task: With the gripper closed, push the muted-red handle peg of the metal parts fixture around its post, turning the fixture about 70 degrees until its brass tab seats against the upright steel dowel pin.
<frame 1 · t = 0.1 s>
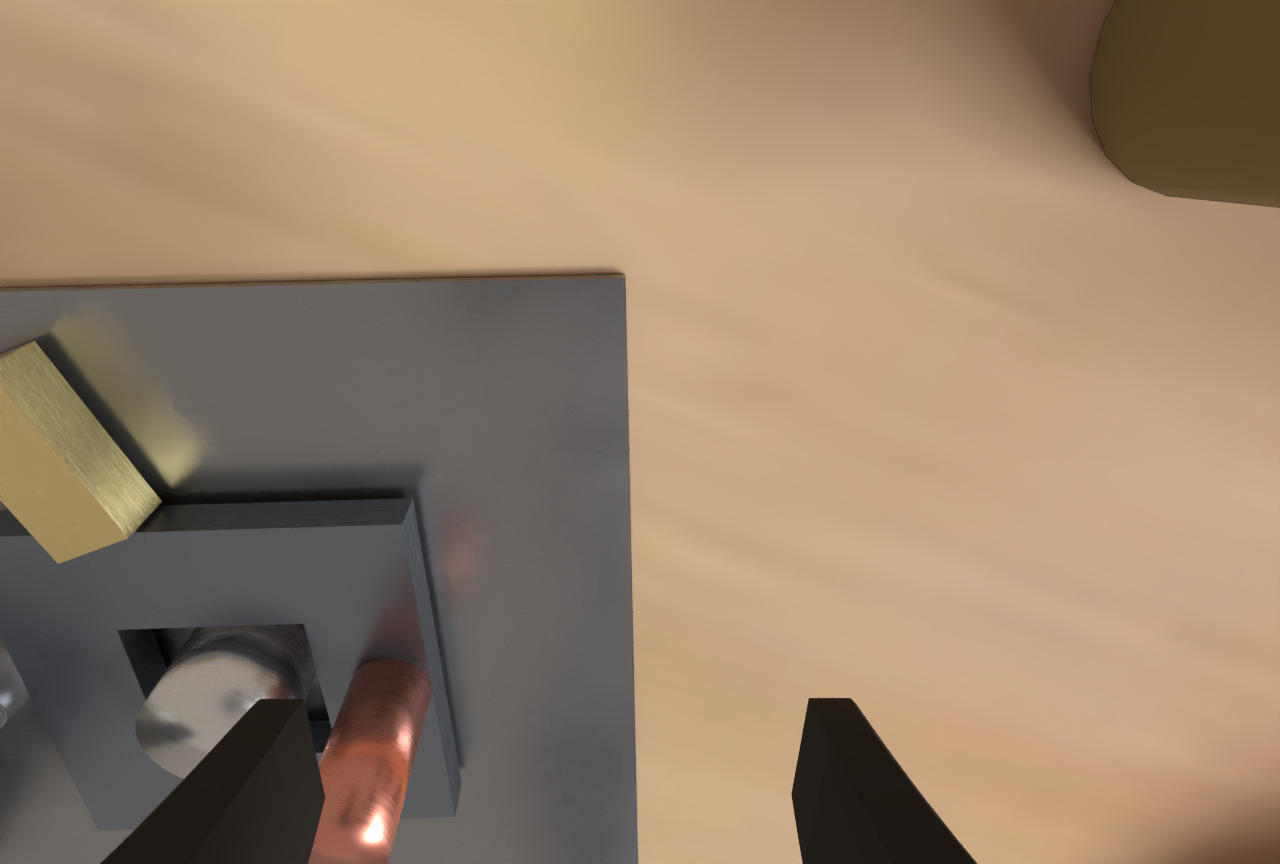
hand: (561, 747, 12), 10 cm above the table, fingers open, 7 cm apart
olive green shaker: (1228, 51, 17), on the table
metal parts fixture: (178, 681, 19), point 4 cm above the table, hinge at 0.0°
post base: (259, 648, 23), on the table
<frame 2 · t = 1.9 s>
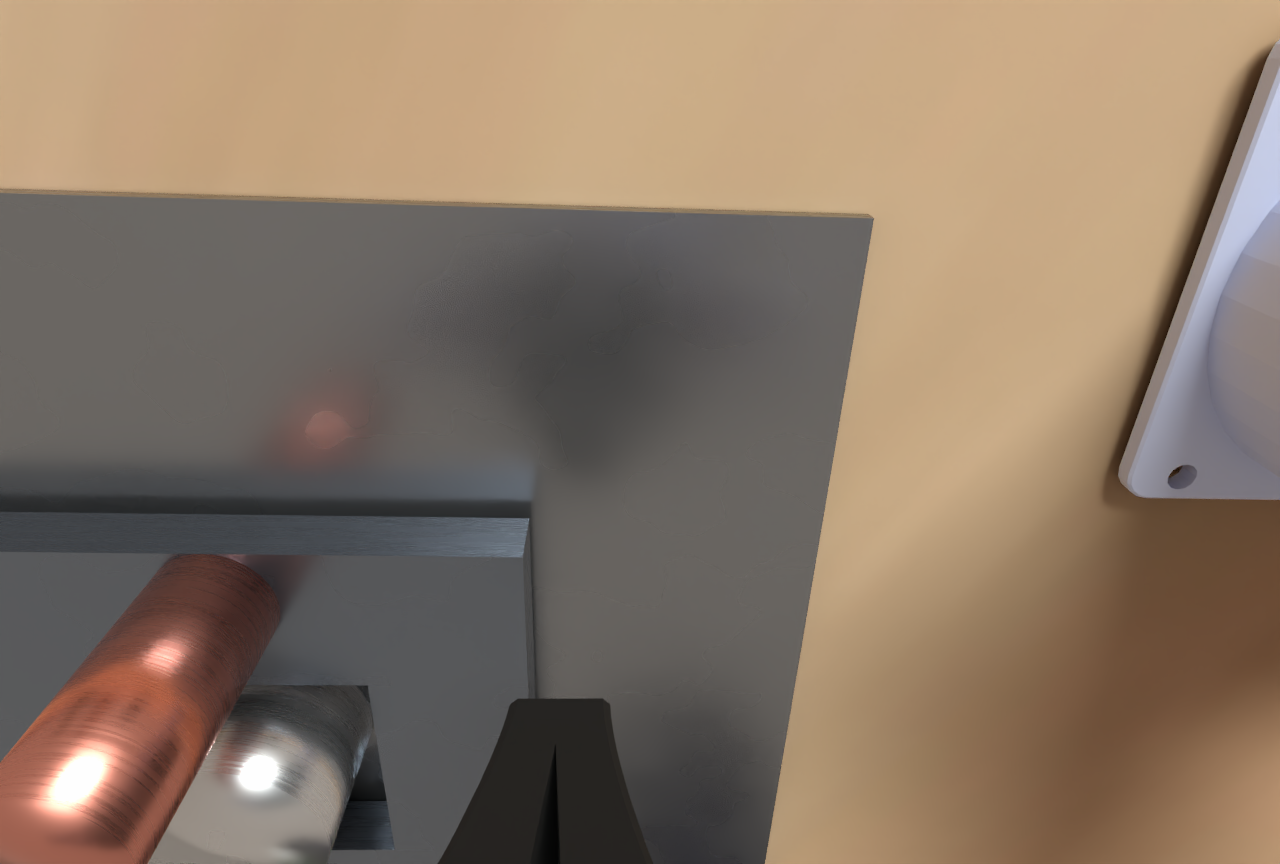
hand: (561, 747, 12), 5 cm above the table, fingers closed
metal parts fixture: (92, 858, 14), point 4 cm above the table, hinge at 0.0°
post base: (293, 704, 18), on the table
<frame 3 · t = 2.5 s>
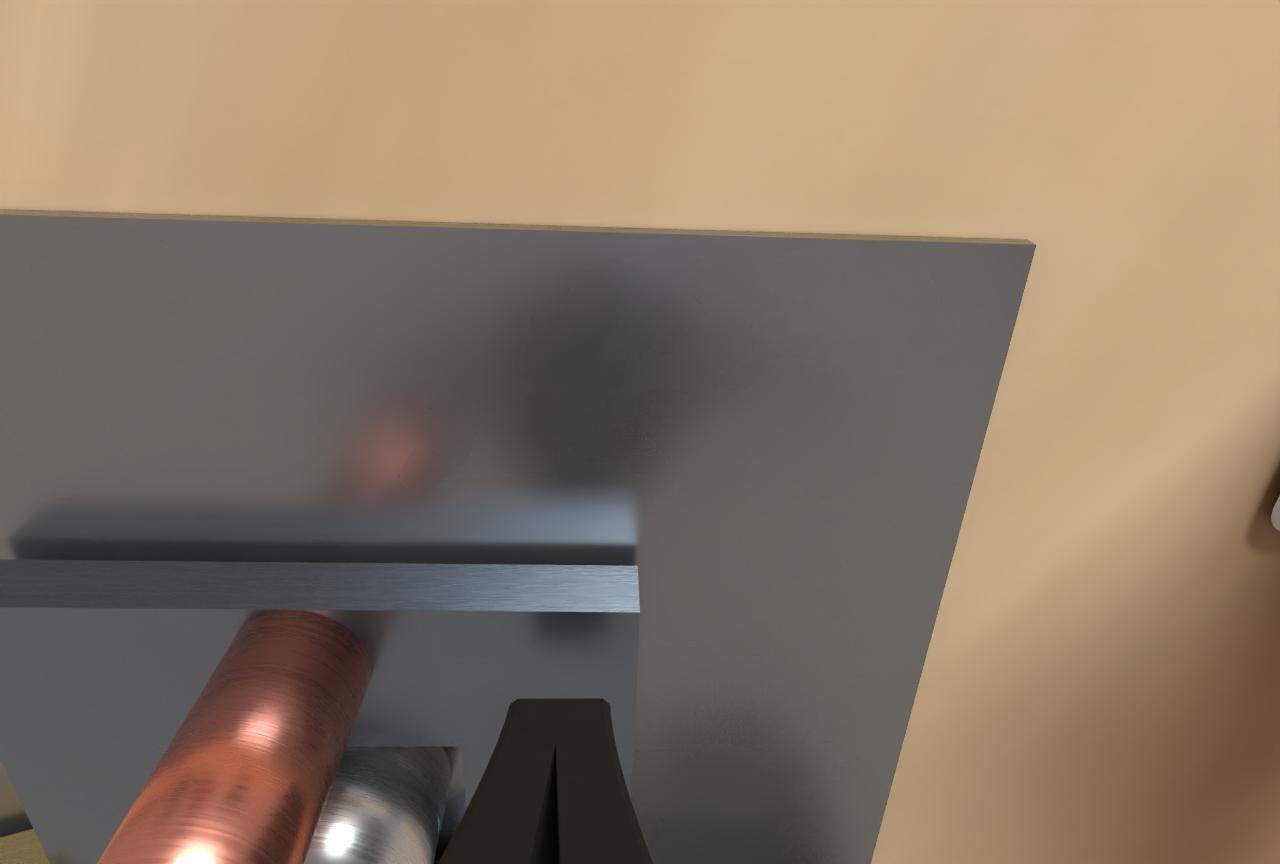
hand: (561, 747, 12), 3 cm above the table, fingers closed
post base: (365, 757, 16), on the table
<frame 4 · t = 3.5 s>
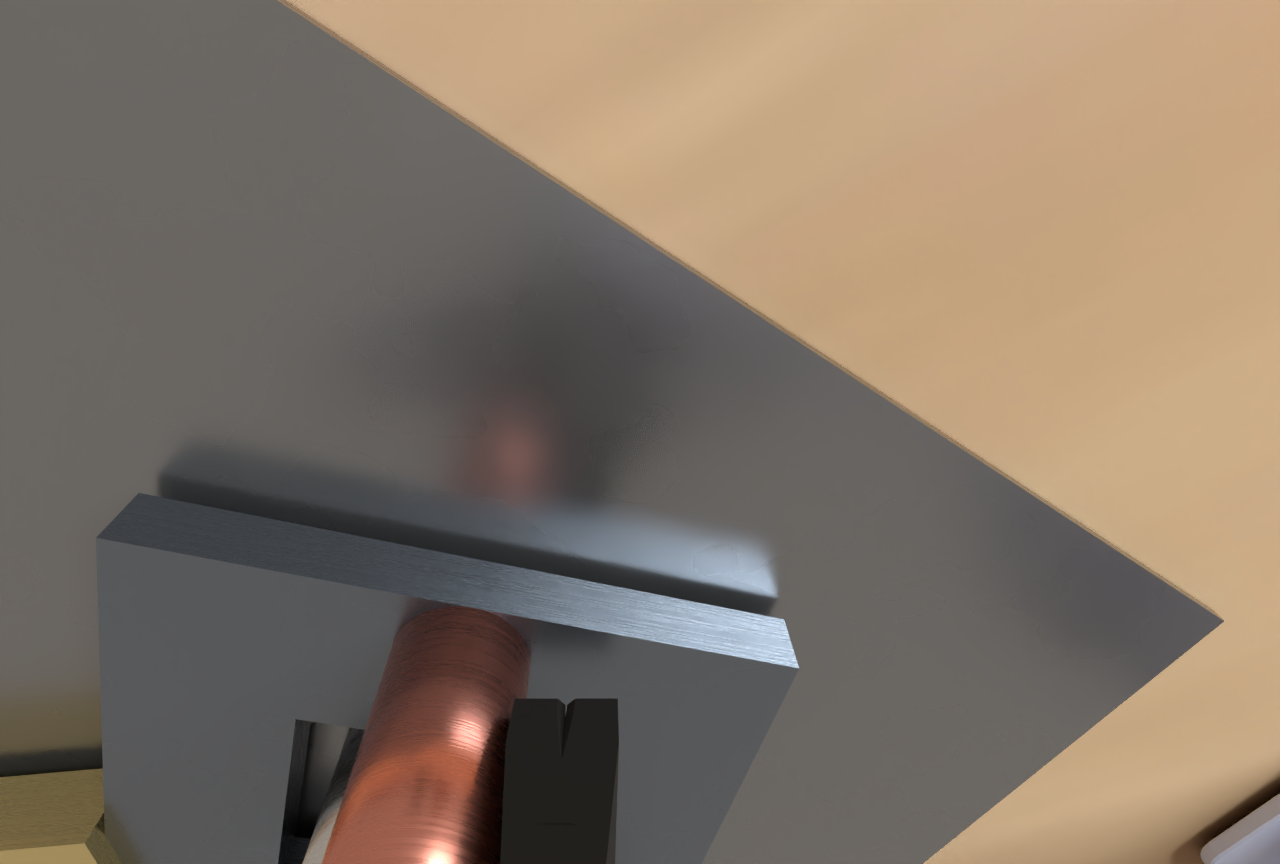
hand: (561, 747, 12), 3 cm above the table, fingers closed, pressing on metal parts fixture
post base: (437, 751, 16), on the table
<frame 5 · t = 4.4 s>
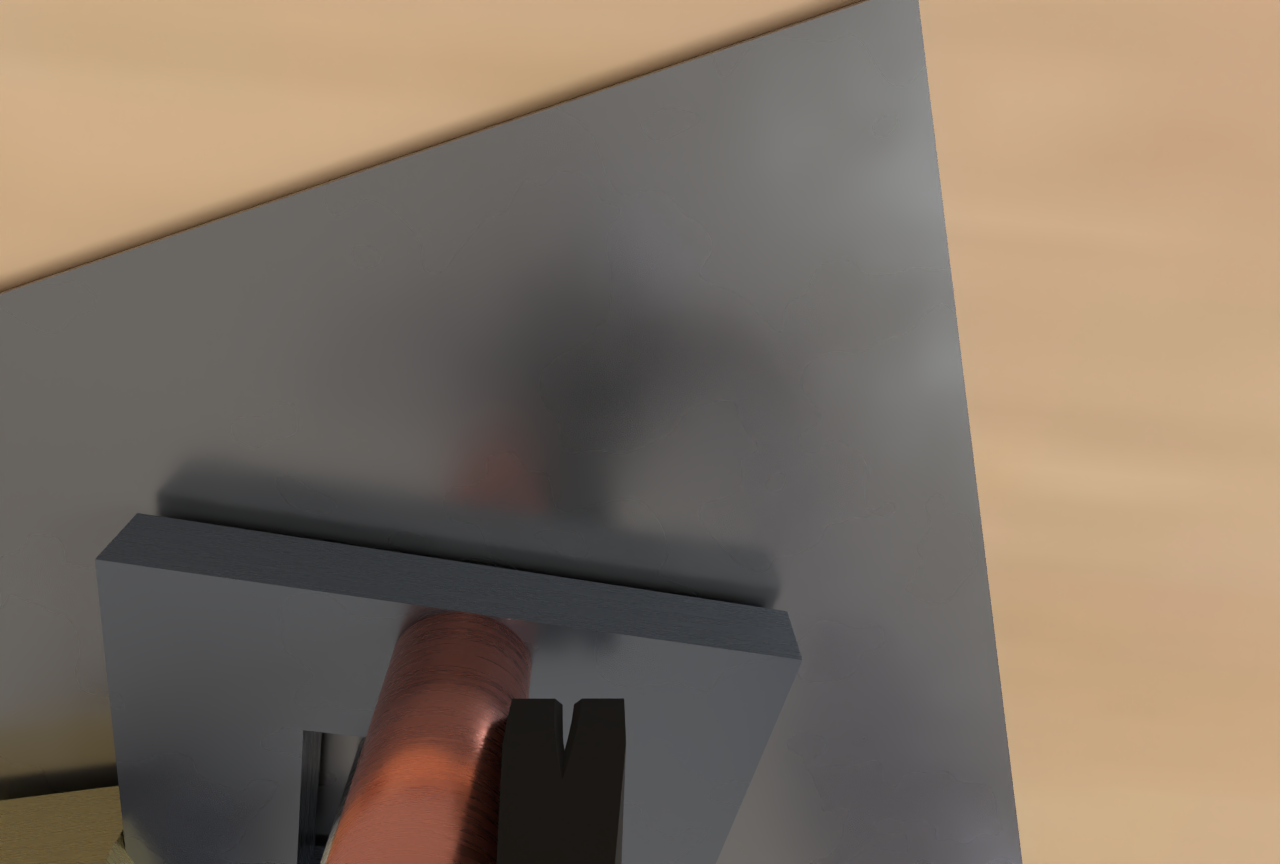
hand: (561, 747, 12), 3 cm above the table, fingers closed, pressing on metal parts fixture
post base: (449, 756, 16), on the table
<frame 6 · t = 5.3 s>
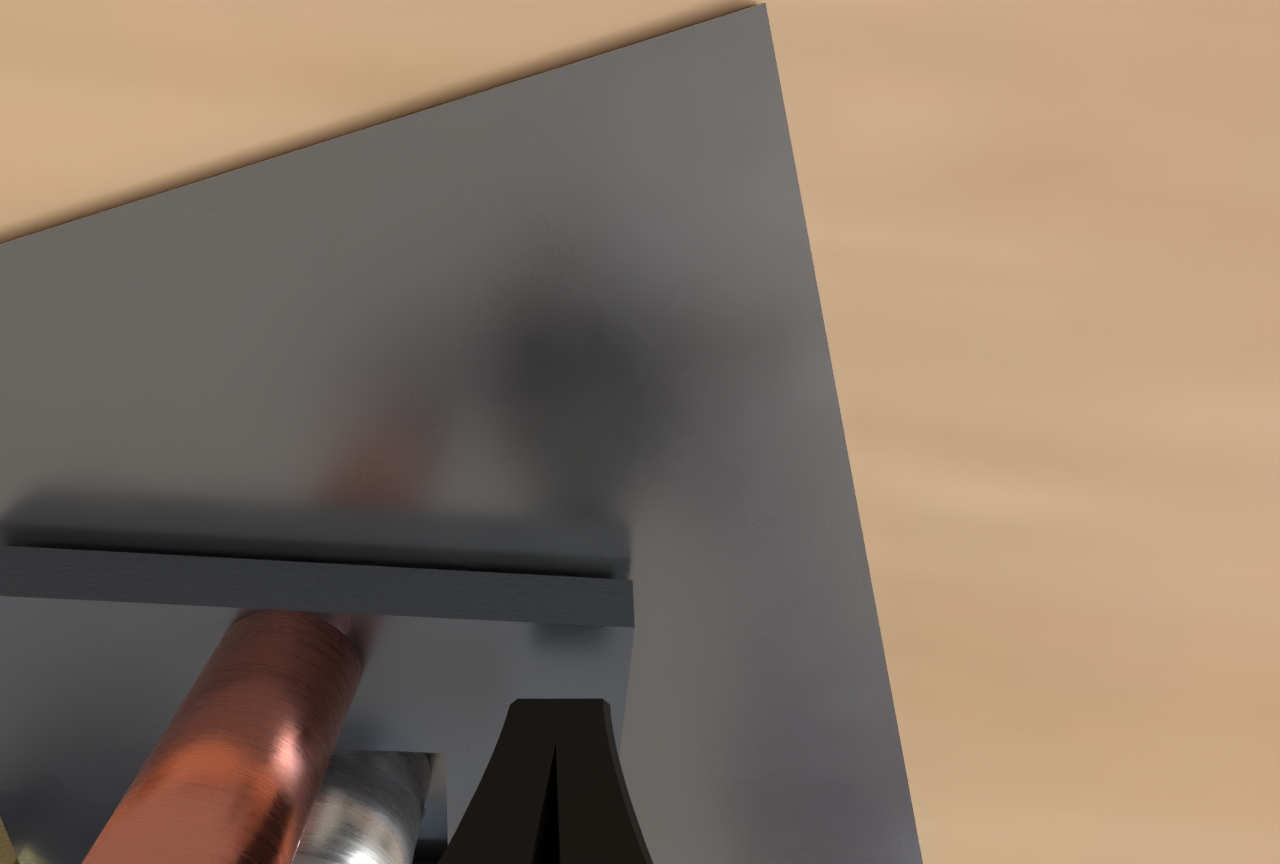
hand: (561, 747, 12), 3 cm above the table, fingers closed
post base: (344, 758, 16), on the table
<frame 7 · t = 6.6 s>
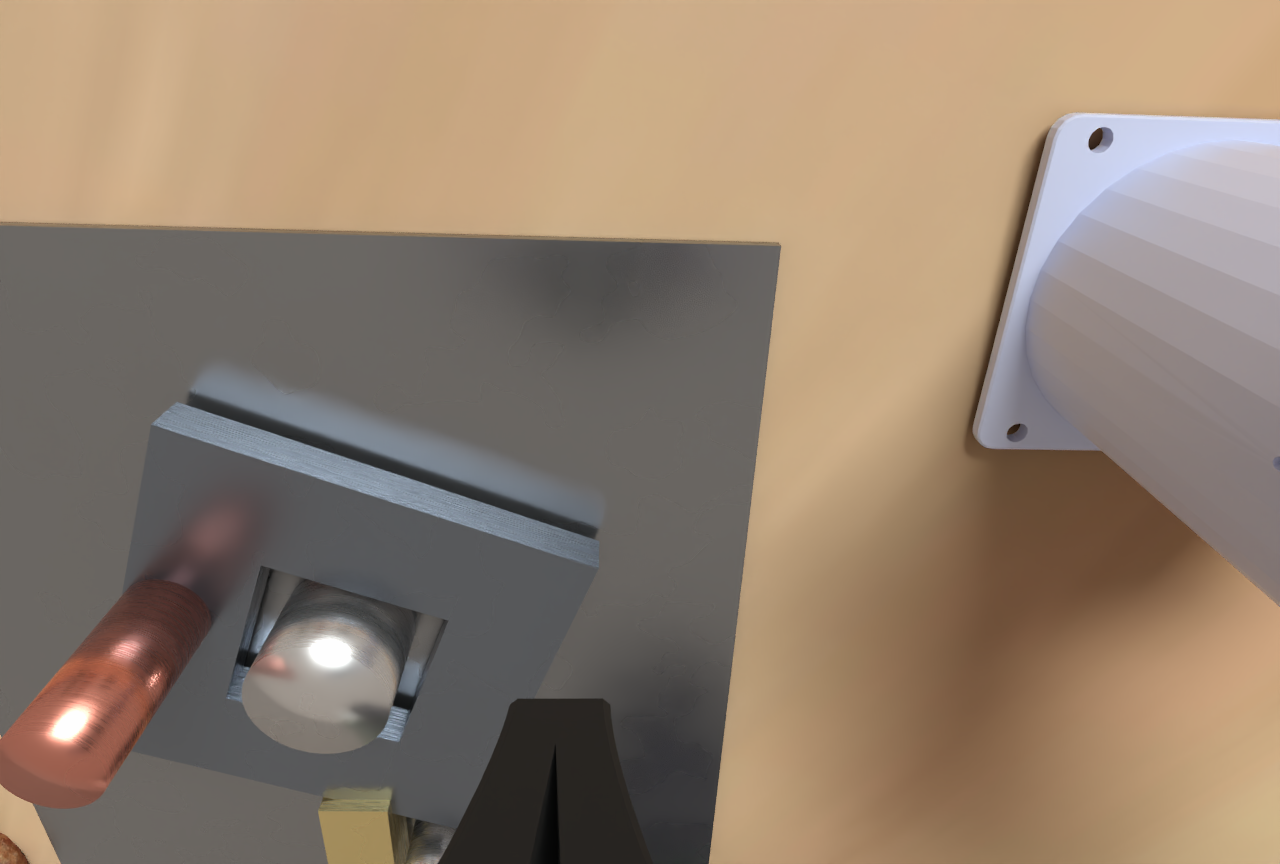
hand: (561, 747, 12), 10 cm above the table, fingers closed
dowel pin: (441, 814, 27), resting on post base
metal parts fixture: (292, 771, 20), point 4 cm above the table, hinge at 68.7°
post base: (353, 615, 23), on the table
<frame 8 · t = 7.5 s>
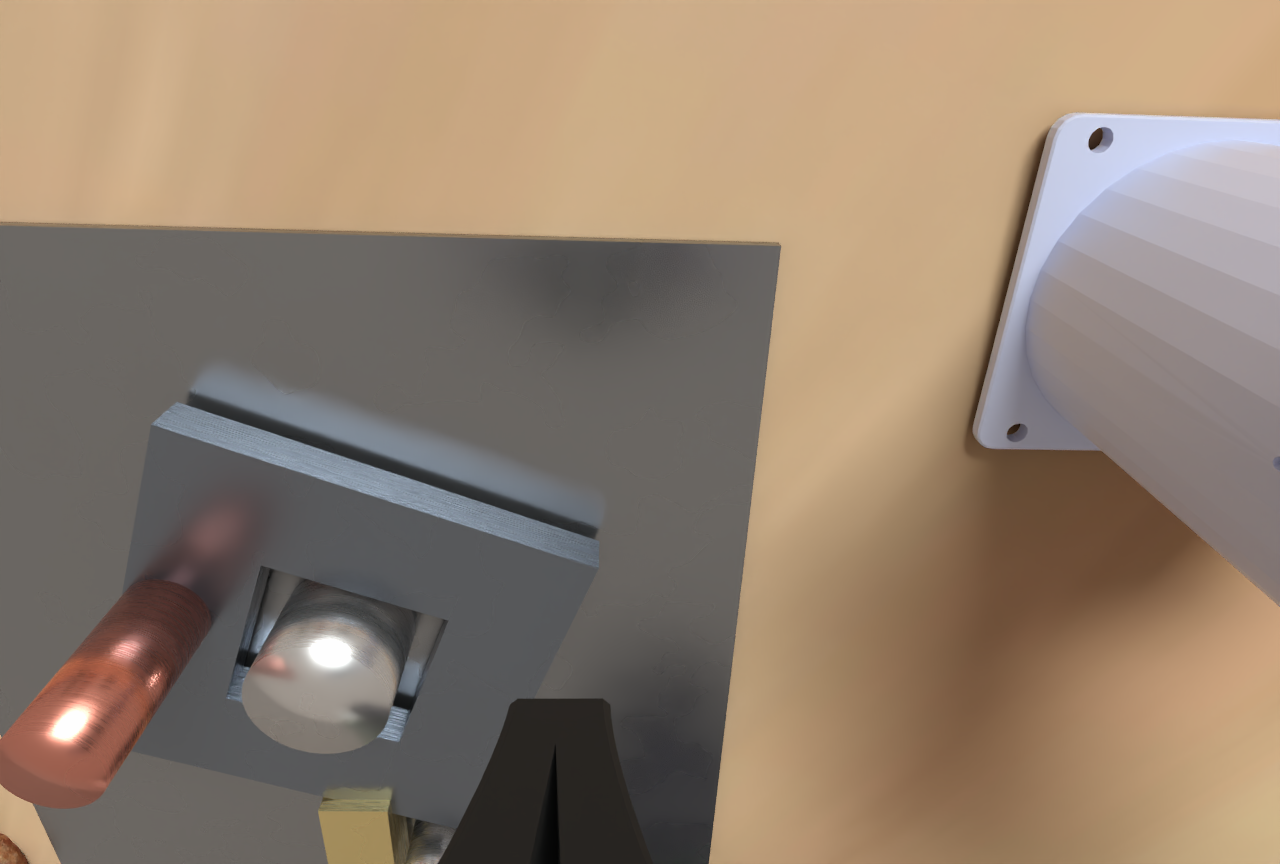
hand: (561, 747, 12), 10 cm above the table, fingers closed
dowel pin: (441, 814, 27), resting on post base
metal parts fixture: (292, 771, 20), point 4 cm above the table, hinge at 68.7°
post base: (353, 615, 23), on the table
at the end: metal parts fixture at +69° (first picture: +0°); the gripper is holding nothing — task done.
